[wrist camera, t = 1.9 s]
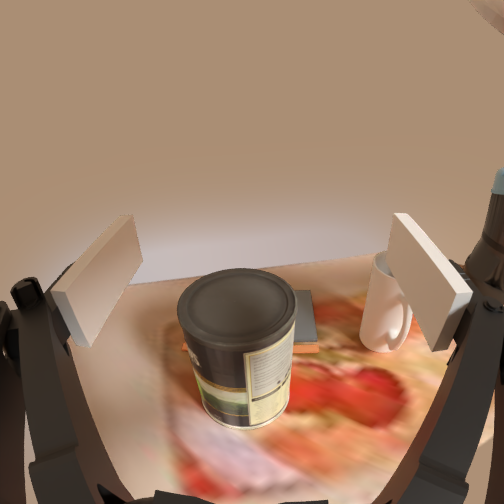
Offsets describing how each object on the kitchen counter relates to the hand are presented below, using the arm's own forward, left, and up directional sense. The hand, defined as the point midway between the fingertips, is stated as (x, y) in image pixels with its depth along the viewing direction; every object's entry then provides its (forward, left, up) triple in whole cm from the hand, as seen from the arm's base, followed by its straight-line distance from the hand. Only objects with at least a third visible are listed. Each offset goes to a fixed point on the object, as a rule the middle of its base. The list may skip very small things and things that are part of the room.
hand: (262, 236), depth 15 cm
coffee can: (+3, -7, -24) cm, 25 cm away
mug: (-15, -14, -24) cm, 32 cm away
